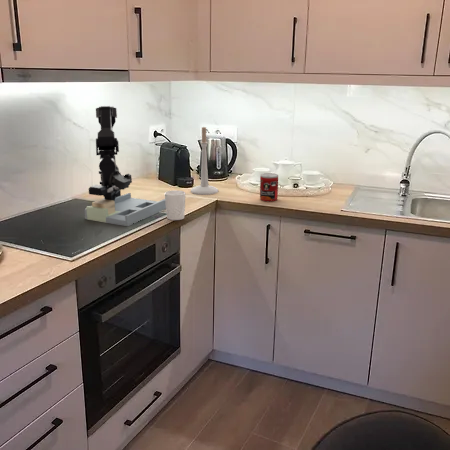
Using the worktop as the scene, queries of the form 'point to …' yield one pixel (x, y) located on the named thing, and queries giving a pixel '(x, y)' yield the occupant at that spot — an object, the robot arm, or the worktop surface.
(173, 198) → the white cup
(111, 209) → the maple block
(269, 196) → the canned food
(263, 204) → the worktop surface
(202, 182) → the candlestick
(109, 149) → the robot arm
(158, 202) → the board
